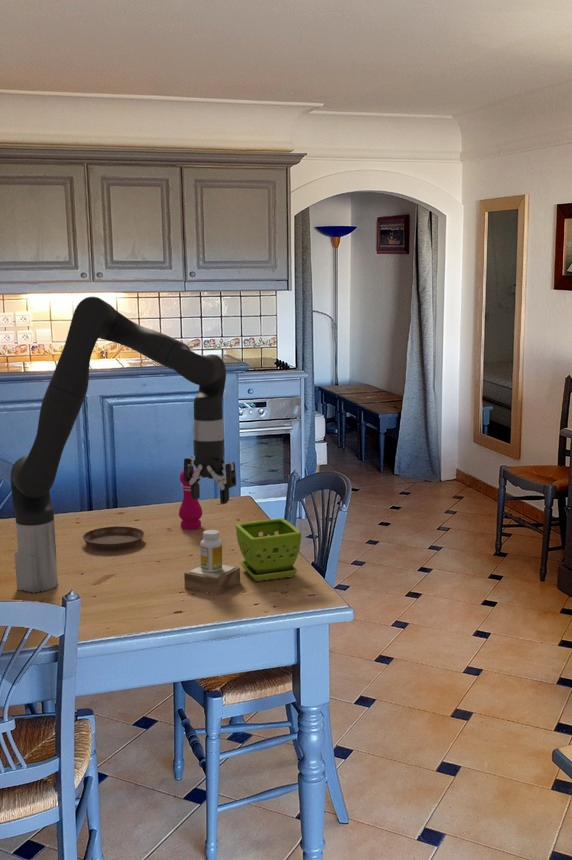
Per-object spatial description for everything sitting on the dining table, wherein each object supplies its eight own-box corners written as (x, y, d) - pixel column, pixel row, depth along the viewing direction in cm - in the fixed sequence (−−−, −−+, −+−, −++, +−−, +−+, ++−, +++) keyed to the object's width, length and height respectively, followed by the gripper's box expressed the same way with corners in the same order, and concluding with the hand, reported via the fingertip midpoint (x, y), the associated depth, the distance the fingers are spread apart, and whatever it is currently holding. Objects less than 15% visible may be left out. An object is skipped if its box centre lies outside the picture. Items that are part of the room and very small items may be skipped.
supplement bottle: (223, 565, 220) (222, 528, 218) (221, 572, 214) (220, 535, 213) (202, 565, 220) (201, 528, 218) (199, 572, 214) (199, 534, 213)
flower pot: (235, 569, 230) (234, 523, 227) (284, 562, 234) (283, 517, 232) (251, 586, 217) (251, 538, 214) (303, 579, 222) (303, 531, 219)
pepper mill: (175, 529, 265) (173, 466, 261) (184, 522, 272) (183, 460, 268) (197, 531, 263) (195, 467, 259) (206, 524, 270) (204, 462, 266)
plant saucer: (122, 531, 264) (121, 521, 264) (156, 544, 252) (156, 533, 251) (71, 544, 252) (70, 534, 252) (105, 558, 240) (104, 547, 239)
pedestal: (217, 595, 211) (217, 578, 210) (184, 588, 216) (184, 571, 215) (240, 582, 219) (239, 566, 219) (208, 575, 224) (207, 560, 224)
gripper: (176, 436, 211) (177, 501, 214) (223, 442, 204) (225, 508, 207) (194, 432, 217) (195, 494, 220) (241, 437, 210) (242, 501, 213)
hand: (210, 501), depth 214 cm, fingers open, 8 cm apart
